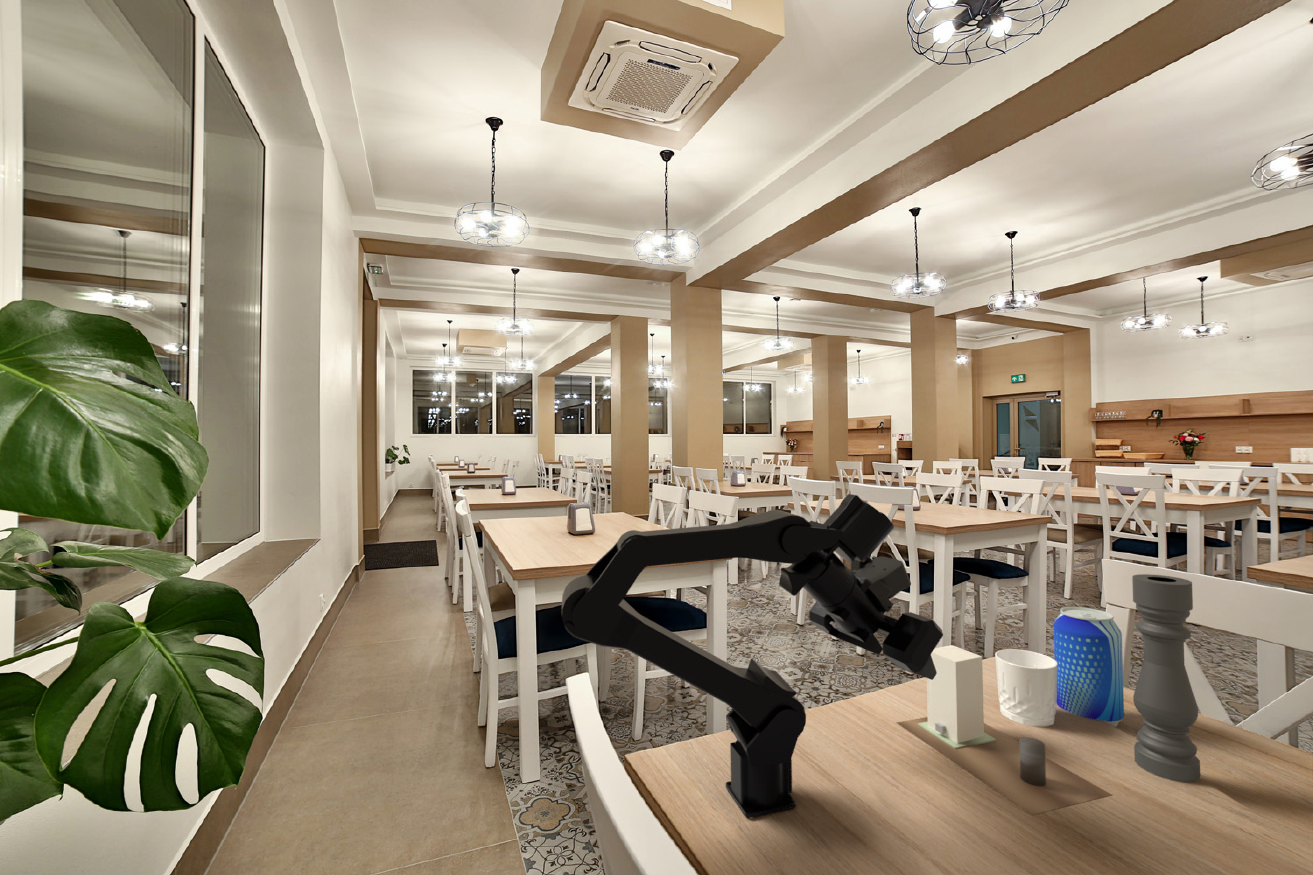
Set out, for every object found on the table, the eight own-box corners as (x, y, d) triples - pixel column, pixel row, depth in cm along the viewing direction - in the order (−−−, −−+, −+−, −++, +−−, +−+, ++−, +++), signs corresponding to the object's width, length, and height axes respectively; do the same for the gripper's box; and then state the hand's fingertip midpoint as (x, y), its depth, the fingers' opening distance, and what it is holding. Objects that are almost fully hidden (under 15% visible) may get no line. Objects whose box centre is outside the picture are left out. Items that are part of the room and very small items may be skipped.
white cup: (998, 731, 84) (996, 662, 84) (995, 708, 91) (993, 645, 91) (1063, 743, 81) (1061, 672, 81) (1055, 719, 88) (1053, 653, 88)
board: (1032, 828, 63) (1030, 773, 63) (896, 732, 84) (895, 691, 84) (1112, 807, 66) (1111, 755, 67) (962, 720, 88) (961, 681, 88)
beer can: (1043, 711, 90) (1041, 609, 90) (1075, 700, 94) (1073, 602, 94) (1104, 735, 82) (1101, 624, 83) (1136, 723, 86) (1133, 616, 86)
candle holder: (1214, 797, 68) (1208, 586, 68) (1154, 791, 69) (1149, 584, 70) (1178, 768, 74) (1173, 574, 74) (1123, 763, 75) (1118, 573, 76)
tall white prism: (954, 744, 78) (952, 662, 78) (924, 727, 82) (922, 650, 82) (987, 735, 80) (985, 655, 80) (956, 719, 85) (954, 644, 85)
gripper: (928, 551, 65) (1000, 635, 69) (824, 529, 83) (886, 597, 86) (874, 629, 62) (953, 713, 66) (779, 590, 80) (845, 658, 83)
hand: (905, 663), depth 76 cm, fingers open, 9 cm apart
